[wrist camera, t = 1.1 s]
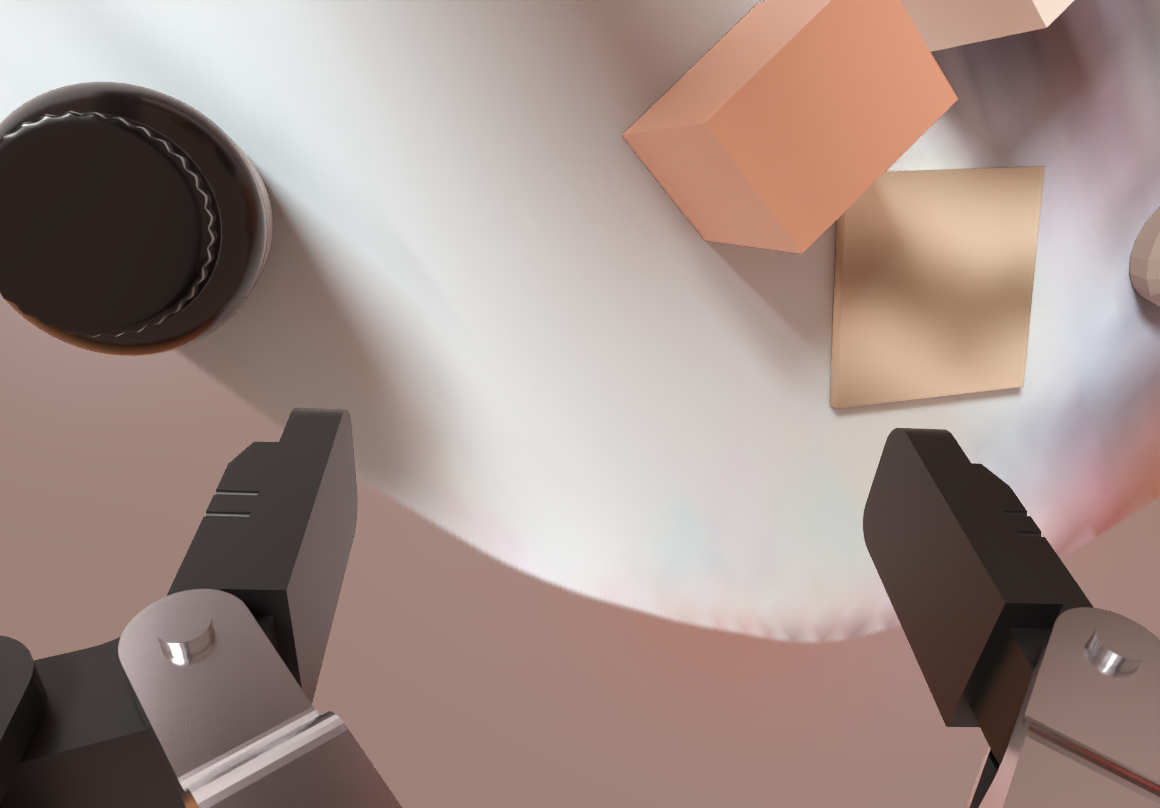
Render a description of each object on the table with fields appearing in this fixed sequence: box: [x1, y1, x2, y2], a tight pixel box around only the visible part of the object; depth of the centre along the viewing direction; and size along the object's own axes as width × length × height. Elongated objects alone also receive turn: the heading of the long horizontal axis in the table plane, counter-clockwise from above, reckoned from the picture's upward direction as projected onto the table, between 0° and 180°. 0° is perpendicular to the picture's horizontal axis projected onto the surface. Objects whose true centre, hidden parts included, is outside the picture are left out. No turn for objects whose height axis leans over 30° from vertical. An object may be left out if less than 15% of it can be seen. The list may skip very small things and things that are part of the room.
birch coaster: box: [830, 166, 1044, 409], centre depth 39 cm, size 10×10×1 cm
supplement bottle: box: [0, 82, 273, 356], centre depth 24 cm, size 7×7×12 cm
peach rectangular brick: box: [622, 0, 958, 254], centre depth 32 cm, size 7×5×8 cm
